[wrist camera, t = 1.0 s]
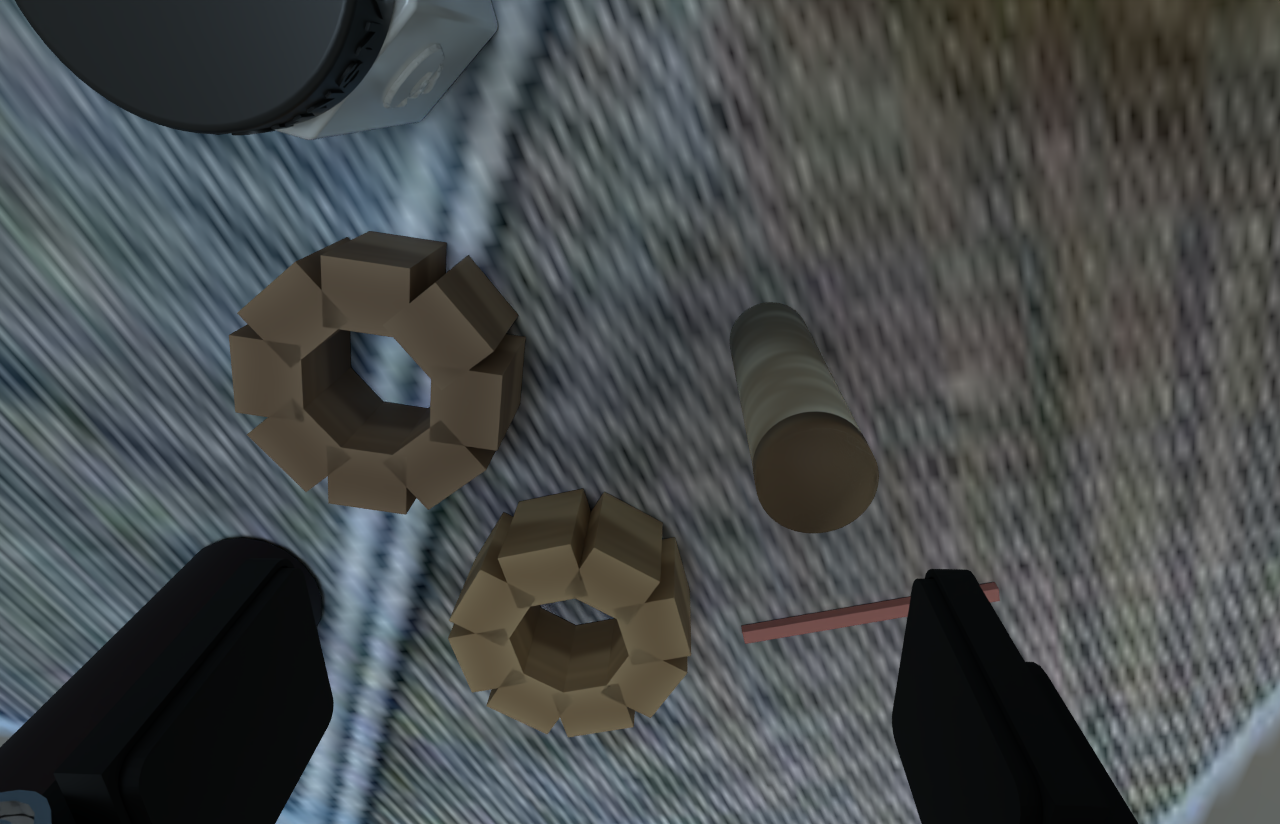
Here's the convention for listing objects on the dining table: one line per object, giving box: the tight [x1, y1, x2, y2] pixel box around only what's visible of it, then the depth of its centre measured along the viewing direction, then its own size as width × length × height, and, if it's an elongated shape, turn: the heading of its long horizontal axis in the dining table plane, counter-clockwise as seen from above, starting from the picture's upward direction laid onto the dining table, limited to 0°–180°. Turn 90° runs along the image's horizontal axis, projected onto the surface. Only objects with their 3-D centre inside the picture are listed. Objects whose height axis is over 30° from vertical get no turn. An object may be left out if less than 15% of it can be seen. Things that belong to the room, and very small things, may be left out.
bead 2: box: [448, 489, 691, 737], centre depth 35 cm, size 10×10×4 cm
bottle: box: [0, 538, 322, 795], centre depth 29 cm, size 7×7×20 cm
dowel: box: [730, 302, 879, 533], centre depth 26 cm, size 3×3×12 cm
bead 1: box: [229, 231, 525, 514], centre depth 30 cm, size 10×10×4 cm
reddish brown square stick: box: [742, 582, 1000, 644], centre depth 36 cm, size 12×1×1 cm, turn 104°
